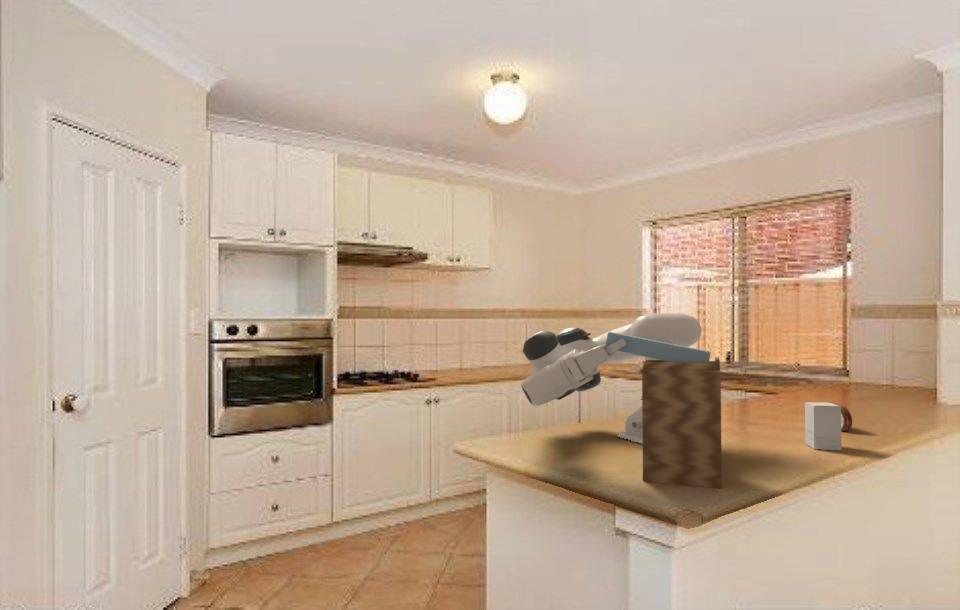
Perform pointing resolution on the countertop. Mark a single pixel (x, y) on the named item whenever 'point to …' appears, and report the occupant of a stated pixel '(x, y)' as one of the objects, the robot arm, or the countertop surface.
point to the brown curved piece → (845, 418)
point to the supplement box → (823, 425)
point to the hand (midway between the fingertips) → (626, 340)
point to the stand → (682, 423)
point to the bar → (659, 349)
